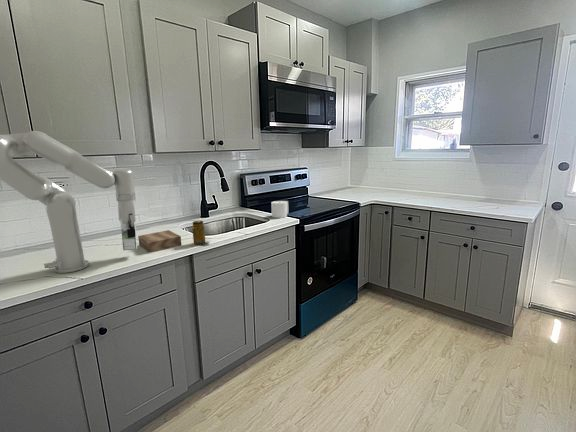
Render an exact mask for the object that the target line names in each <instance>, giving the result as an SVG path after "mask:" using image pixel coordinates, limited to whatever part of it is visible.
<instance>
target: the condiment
mask: <svg viewBox="0 0 576 432" xmlns="http://www.w3.org/2000/svg"><path fill="white" fill-rule="evenodd" d="M191 228H192V240H193V243H192V245H191V246H192V247H197V246H209V245H210V243H211V240H206V231H205V226H204V221H203V220H194V221H192V227H191Z"/></svg>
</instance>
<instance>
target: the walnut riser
mask: <svg viewBox="0 0 576 432" xmlns="http://www.w3.org/2000/svg"><path fill="white" fill-rule="evenodd" d="M137 240H138V245H139V247H141V248H143V249H144V250H145V251H146V252H148V253H150V254H151V253H155V252H159V251H162V250H163V251H164V250H168V249H172V248H176V247H181V246H182V237H181V235H179V234H177V233H175V232H173V231H171V230H169V229H167V230H162V231H157V232H152V233H146V234H141V235H138V237H137Z"/></svg>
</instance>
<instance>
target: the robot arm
mask: <svg viewBox="0 0 576 432" xmlns="http://www.w3.org/2000/svg"><path fill="white" fill-rule="evenodd" d="M34 154H36V155H37V156H39V157H41V158H43V159H45V160H47V162H48V161H49V162H51V163H53V164H55V165H56V166H58V167H59V168H61V169H63V170H66V171H67V172H69V173H72V174H74V175H75V176H77V177H80V178H81V179H83V180H85V181H86V182H88V183H91V184H93V185H94V186H96V187H98V188H100V189H109V188H111V187H113V186H115V187H114V188H115V199H116V202H117V209H118V211H117V212H118V220H119V222H121V219H122V222H123V223H124V224H126V223H127V227H128V229H127V234H128V238H132V237H136V238H137V233H136V234H135V226H136V210H135V204H134V201H136V194H135V183H134V173H133V170H131V169H125V168H124V169H107V168H103V167H101V166H99V165H97V164H96V163H94V162H92V161H91V160H89V159H87V158H86V157H85V156H83V155H82V154H81V153H79V151H77V150H74V149H73V148H71V147H69V146H68V145H65V144H64V143H62V142H61V141H58V140H56V139H54V138H53V137H51V136H49V135H48V134H47V133H45V132H43V131H39V130H32V131H29V132H22V133H9V134H7V133H6V134H0V180H1V181H2V182H3V183H5V184H6V185H8V186H10V188H12V189H13V190H15V191H17V192H18V193H20V194H21V195H22V196H24V197H25V198H27V199H28V200H32V201H38V202H40V203H42V204H43V205H44V206H46V214H47V219H48V222H49V226H50V231H51V236H52V241H53V245H54V251H55V257H56V258H55V260H52V262H47V263H43V266H44V269H53V270H54V272H56V273H58V274H67V273H73V272H77V271H80V270H83V269H85V268H88V267H89V265H90V261H89V260H87V259H85V256H84V255H85V254H84V250H83V244H82V238H81V233H80V231H81V230H80V226H79V220H78V215H77V208H76V200H75V198H74V197H73V195H72V194H71V193H69V192H68V191H66V190H65V189H64V188H62V187H61V186H60V185H58V184H57V183H56V182H54V181H52V180H51V179H50V178H48V177H46V176H44V175H40V174H35V173H33V172H32V171H31V170H29V169H27V168H26V167H25V166H23V165H22V164H21V163H19V162H18V161H17V160H15V159H13V157H16V156H18V157H19V156H26V155H34ZM128 221H130V222H128ZM134 223H135V224H134ZM129 224H130V225H129Z"/></svg>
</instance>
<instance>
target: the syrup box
mask: <svg viewBox="0 0 576 432" xmlns="http://www.w3.org/2000/svg"><path fill="white" fill-rule="evenodd" d="M128 222H130V221H128ZM134 224H135V234H136V235H137V227H136V226H137V225H136V222H135V223H134ZM129 225H130V224H129ZM127 229H128V227H127V223H126V224H124V223H123V222H122V219H121V221H120V231H121V240H122V250H123V251H132V250H133V251H134V250H137V248H138V241H137V240H138V238H137V236H136V237H132V238H128V234H127Z"/></svg>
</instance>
